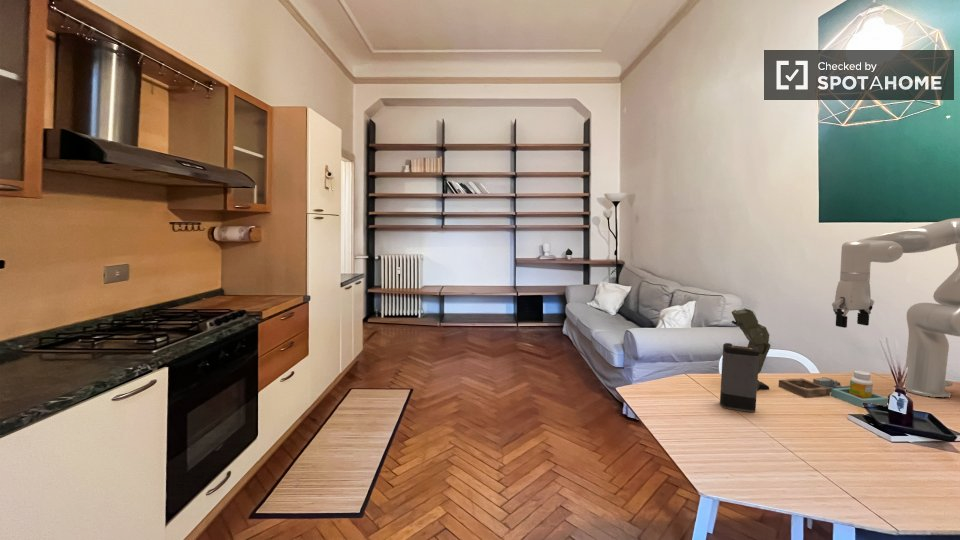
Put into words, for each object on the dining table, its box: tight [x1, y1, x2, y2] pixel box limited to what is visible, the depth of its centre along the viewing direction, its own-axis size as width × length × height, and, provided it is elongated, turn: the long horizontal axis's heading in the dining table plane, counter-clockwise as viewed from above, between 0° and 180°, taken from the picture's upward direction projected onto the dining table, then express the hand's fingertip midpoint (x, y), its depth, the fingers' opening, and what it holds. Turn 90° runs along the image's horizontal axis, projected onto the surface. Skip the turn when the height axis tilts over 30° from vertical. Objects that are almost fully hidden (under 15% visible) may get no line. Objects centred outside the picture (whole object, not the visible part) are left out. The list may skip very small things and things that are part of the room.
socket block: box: [778, 378, 831, 399], centre depth 141 cm, size 10×10×2 cm
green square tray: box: [830, 387, 890, 409], centre depth 133 cm, size 10×10×2 cm
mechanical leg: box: [731, 307, 771, 391], centre depth 144 cm, size 14×7×30 cm, turn 83°
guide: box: [827, 381, 850, 393], centre depth 143 cm, size 12×5×2 cm, turn 99°
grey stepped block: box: [812, 376, 838, 387], centre depth 142 cm, size 6×4×3 cm
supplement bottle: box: [849, 370, 874, 399], centre depth 132 cm, size 5×5×10 cm
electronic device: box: [719, 342, 759, 413], centre depth 126 cm, size 9×6×20 cm, turn 65°
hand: (852, 325), depth 139 cm, fingers open, 9 cm apart
